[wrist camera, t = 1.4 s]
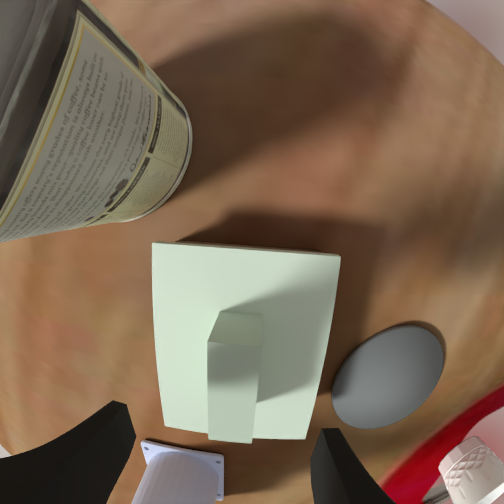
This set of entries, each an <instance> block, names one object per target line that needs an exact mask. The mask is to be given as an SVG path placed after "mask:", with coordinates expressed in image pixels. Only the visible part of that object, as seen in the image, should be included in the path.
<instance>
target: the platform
mask: <svg viewBox="0 0 504 504" xmlns="http://www.w3.org/2000/svg"><path fill="white" fill-rule="evenodd" d="M449 498H450V494H449V492H448V491H447V488H446V485H445V483H442V484H440V485H438V486H436V487H434V488H432V489H430V490H429V491H428V493H427V494H426V495H425V496H424V498H423V500H422V501H423V502H426V503H425V504H441V503H444V502H445V501H447V500H449Z"/></svg>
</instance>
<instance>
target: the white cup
mask: <svg viewBox="0 0 504 504" xmlns="http://www.w3.org/2000/svg"><path fill="white" fill-rule="evenodd" d="M438 468H439V470H440V472H441V474H442V476H443V479H444V483H445V485H446V488H447V491H448V492H449V494H450V498H451V500H452V502H453V504H490V503H492V502H493V501H494V500H495V499H496V498H498V497H499V496H500V495H501V494H502V493H503V492H504V464H503V463H502V461H501V460H500V459H499V458H498V457H497V456H496V455H495V454H494V453H493V452H492V450H491V449H489V448H488V447H487V446H486V445H485V444H484V442H483V441H482V440H481V439H480V438H479V437H475V436H473V437H471V438H468V439H466V440H464V441H463V442H461V443H460V444H458V445H457V446H456V447H455V448H454V449H452V450H451V451H450V452H449V453H448V454H447V455H446V456H445V457H444V459H443V460H442V461H441V463H440V465H439V467H438Z"/></svg>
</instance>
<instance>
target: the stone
mask: <svg viewBox="0 0 504 504" xmlns="http://www.w3.org/2000/svg"><path fill="white" fill-rule="evenodd" d="M442 368H443V351H442V347H441V345H440V343H439V341H438V340H437V338H436V337H435V336H434V335H433V334H432V333H430V332H429V331H427V330H426V329H424V328H422V327H419V326H415V325H400V326H395V327H391V328H388V329H385V330H383V331H381V332H379V333H376V334H375V335H373V336H371V337H370V338H368V339H367V340H365V341H364V342H362V343H361V344H360V345H359V346H358V347H357V348H355V349H354V350H353V351H352V352H351V353H350V354H349V356H348V357H347V358H346V359H345V361H344V362H343V363H342V365H341V366H340V368H339V370H338V372H337V374H336V376H335V378H334V381H333V385H332V390H331V397H332V403H333V406H334V409H335V412H336V414H337V415H338V417H339V418H340V419H341V420H342V421H343V422H345V423H346V424H348V425H350V426H353V427H356V428H361V429H374V428H380V427H384V426H388V425H390V424H393V423H395V422H398V421H400V420H402V419H403V418H405V417H407V416H408V415H410V414H411V413H412V412H414V411H415V410H416V409H417V408H418V407H420V406H421V405H422V404H423V403H424V402H425V400H426V399H427V398H428V397H429V396H430V394H431V393H432V391H433V390H434V388H435V386H436V385H437V382H438V380H439V378H440V375H441V372H442Z"/></svg>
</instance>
